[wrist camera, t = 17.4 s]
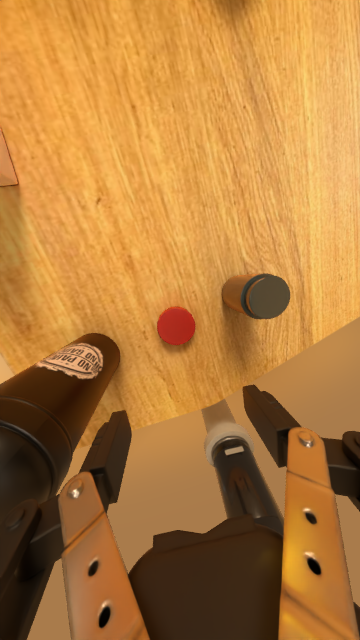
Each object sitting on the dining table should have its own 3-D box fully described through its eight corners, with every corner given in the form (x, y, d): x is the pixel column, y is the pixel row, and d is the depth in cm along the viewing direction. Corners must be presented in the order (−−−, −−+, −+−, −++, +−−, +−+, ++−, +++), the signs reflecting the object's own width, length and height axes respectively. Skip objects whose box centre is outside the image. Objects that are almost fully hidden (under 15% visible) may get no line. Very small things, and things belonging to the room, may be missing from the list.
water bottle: (132, 339, 31) (40, 497, 8) (115, 387, 33) (2, 617, 10) (75, 320, 29) (-219, 447, 7) (60, 370, 31) (-210, 599, 9)
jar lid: (165, 301, 30) (165, 302, 28) (199, 313, 31) (201, 316, 29) (152, 334, 31) (151, 338, 29) (185, 346, 32) (187, 350, 30)
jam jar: (255, 306, 31) (293, 317, 22) (223, 312, 31) (247, 325, 22) (254, 272, 30) (293, 269, 20) (220, 278, 29) (244, 277, 20)
